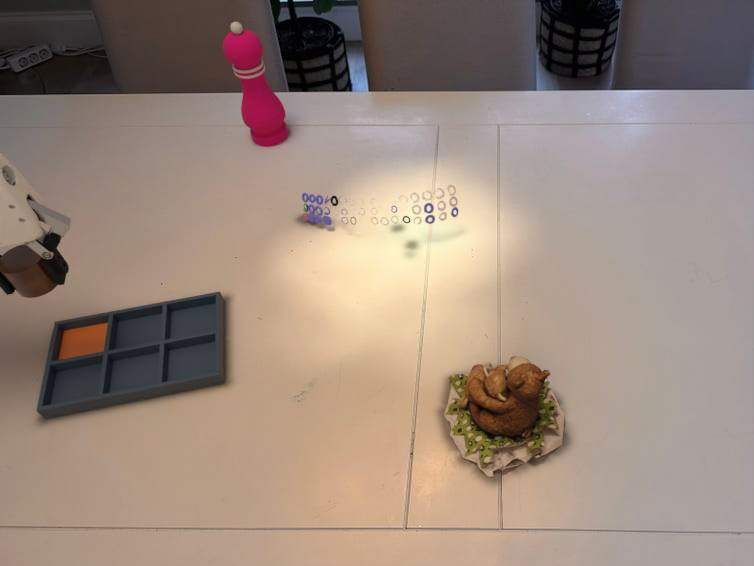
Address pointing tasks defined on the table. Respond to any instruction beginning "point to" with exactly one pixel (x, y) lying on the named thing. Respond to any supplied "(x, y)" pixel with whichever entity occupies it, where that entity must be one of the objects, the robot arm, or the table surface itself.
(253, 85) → the pepper mill
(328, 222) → the ring set
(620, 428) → the table surface
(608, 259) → the table surface
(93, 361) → the grid
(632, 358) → the table surface
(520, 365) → the bear figurine
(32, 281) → the brown cylinder
